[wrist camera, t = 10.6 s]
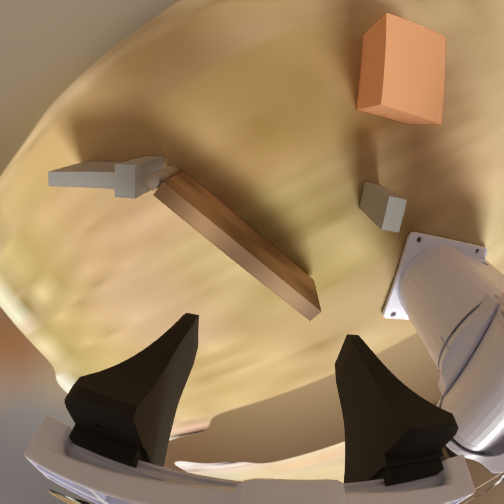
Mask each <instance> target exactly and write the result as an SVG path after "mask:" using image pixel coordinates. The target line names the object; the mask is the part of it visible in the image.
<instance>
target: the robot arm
mask: <svg viewBox="0 0 504 504" xmlns="http://www.w3.org/2000/svg"><path fill="white" fill-rule="evenodd" d="M418 237H420V239H419V241H417V238H418ZM476 250H477V251H476ZM475 251H476V252H475ZM486 255H487V248H485V247H484V246H480V245H475V244H471V243H467V242H462V241H457V240H453V239H448V238H443V237H439V236H434V235H429V234H424V233H419V232H410V233H409V234H408V237H407V240H406V243H405V247H404V250H403V254H402V257H401V260H400V263H399V266H398V269H397V272H396V275H395V278H394V281H393V284H392V287H391V290H390V293H389V296H388V298H387V301H386V304H385V306H384V309H383V312H382V314H383V316H384V318H389V319H407V320H410V321H411V322H412V324H413V326H414V327H415V329H416V331H417V332H418V334H419V336H420V338H421V339H422V341H423V343H424V345H425V346H426V348H427V350H428V352H429V354H430V355H431V357H432V359H433V361H434V363H435V365H436V367H437V368H438V370H439V372H440V378H439V381H438V382H437V386H438V388H439V390H440V392H441V395H442V397H441V399H440V400H439V401H438V403H437V405H436V406H435V405H433V404H432V403H430V402H428V401H426V400H425V399H423V398H422V397H420V396H419V395H417V394H416V393H414V392H413V391H412V390H410V389H409V388H408V387H407V386H405V385H404V384H403V383H402V382H401V381H400V380H398V379H397V378H396V377H395V376H394V375H393V374H392V373H391V372H390V371H389V370H388V369H387V368H386V367H385V365H384V364H383V363H382V362H381V361H380V360H379V359H378V358H377V357H376V355H375V354H374V353H373V352H372V351H371V349H370V348H369V347H368V346H367V345H366V343H365V342H364V341H363V340H362V339H361V338H360V337H359V335H348V334H347V336H346V338H345V341H344V343H343V346H342V348H341V351H340V353H339V355H338V358H337V360H336V363H335V373H336V383H337V388H338V393H339V398H340V403H341V408H342V413H343V419H344V427H345V474H344V483H342V482H340V481H338V480H327V479H325V480H285V479H250V480H244V481H243V482H242V481H234V480H226V479H219V478H213V477H207V476H202V475H196V474H192V473H187V472H182V471H178V470H174V469H169V468H165V467H164V462H165V456H166V451H167V447H168V442H169V437H170V433H171V429H172V425H173V421H174V417H175V413H176V409H177V406H178V403H179V400H180V397H181V394H182V392H183V389H184V387H185V384H186V382H187V379H188V377H189V374H190V372H191V369H192V367H193V364H194V360H195V356H196V352H197V348H198V324H199V315H195V314H189V313H186V314H184V315H183V316H182V317H181V318H180V319H179V320H178V321H177V322H176V323H175V324H174V325H173V326H172V327H171V328H170V329H169V330H168V331H167V332H165V333H164V334H163V335H162V336H161V337H160V338H159V339H157V340H156V341H155V342H153V343H152V344H151V345H150V346H148V347H147V348H145V349H144V350H143V351H141V352H139V353H138V354H136V355H135V356H133V357H131V358H129V359H128V360H126V361H124V362H122V363H120V364H118V365H115V366H113V367H111V368H108V369H105V370H103V371H100V372H97V373H93V374H89V375H86V376H82V377H79V379H78V380H77V381H76V382H75V384H74V385H73V387H72V388H71V390H70V392H69V393H68V395H67V396H66V398H65V405H66V408H67V410H68V412H69V413H70V415H71V417H72V419H73V420H74V422H75V426H74V428H73V429H72V428H70V427H69V426H68V425H66V424H64V423H62V422H60V421H58V420H56V419H54V418H52V417H50V416H48V415H46V417H45V418H44V420H43V422H42V423H41V425H40V427H39V428H38V430H37V432H36V433H35V435H34V437H33V438H32V440H31V442H30V444H29V445H28V447H27V449H26V451H25V453H24V456H25V457H26V458H27V459H28V460H29V461H30V462H31V463H32V464H33V465H34V466H35V467H36V468H37V469H38V470H39V471H40V472H41V473H43V474H44V475H45V476H46V477H47V478H48V479H50V480H52V481H54V482H55V483H57V484H59V485H61V486H63V487H65V488H66V489H68V490H70V491H72V492H74V493H76V494H78V495H80V496H82V497H84V498H86V499H88V500H90V501H92V502H94V503H96V504H458V503H460V502H461V501H463V500H464V499H466V498H468V497H469V496H471V495H472V494H474V493H475V488H474V485H473V482H472V479H471V475H470V472H469V470H468V466H467V464H466V461H465V458H468V459H472V460H475V461H478V462H479V463H481V464H483V465H484V466H485V467H486V468H487V469H488V470H490V471H491V472H492V473H502V472H504V275H503V274H502V273H501V272H500V271H499V270H497V269H496V268H495V267H494V266H492V265H491V264H490V263H489V262H488V261H486V260H485V257H486ZM392 312H394V313H393V314H391V313H392ZM445 445H446V446H447V447H448V448H449V449H450V450H451V451H453V452H454V453H456V454H457V455H459V456H455V457H452V458H449V459H446V460H444V461H442V462H441V458H440V457H442V456H443V452H442V448H443V447H444V446H445Z"/></svg>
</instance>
